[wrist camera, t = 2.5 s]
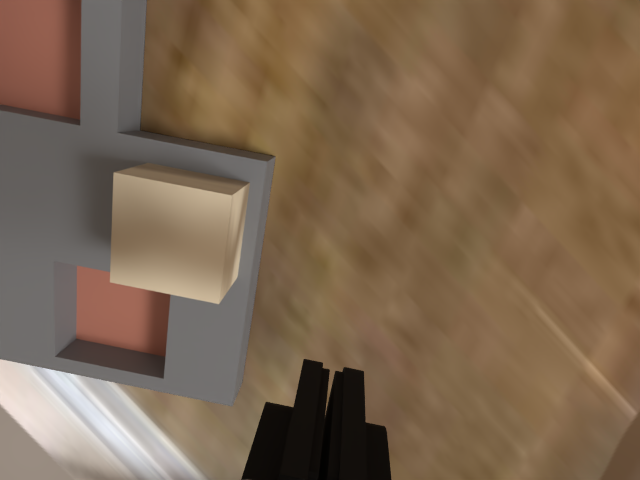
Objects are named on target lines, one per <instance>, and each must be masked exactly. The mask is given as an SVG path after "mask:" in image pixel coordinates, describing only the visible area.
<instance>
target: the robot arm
mask: <svg viewBox="0 0 640 480" xmlns="http://www.w3.org/2000/svg"><path fill="white" fill-rule="evenodd" d="M322 367H323V363H322V362H317V361H312V360H307V359H304V361H303V366H302V370H301V375H300V380H299V384H298V389H297V394H296V399H295V403H294V407H289V406H284V405H279V404H274V403H270V402H266V403H265V406H264V409H263V412H262V415H261V419H260V422H259V425H258V428H257V431H256V435H255V438H254V441H253V444H252V447H251V450H250V454H249V457H248V460H247V463H246V466H245V470H244V473H243V476H242V479H241V480H391V471H390V461H389V450H388V440H387V431H386V428H385V426H380V425H375V424H370V423H366V422H365V392H364V371H361V370H356V369H351V368H346V367H344V369H343V372H339V371H335V375H334V379H333V384H332V388H331V393H330V397H329V402H328V406H327V411H326V415H325V410H326V401H327V391H328V381H329V372H330V370H329V369H324V368H322Z"/></svg>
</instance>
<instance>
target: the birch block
mask: <svg viewBox="0 0 640 480" xmlns="http://www.w3.org/2000/svg"><path fill="white" fill-rule="evenodd" d="M249 186H250V182H245V181H239V180H234V179H229V178H224V177H219V176H214V175H208V174H203V173H198V172H193V171H188V170H183V169H177V168H172V167H167V166H162V165H157V164H152V163H146V164H143V165H139V166H135V167H132V168H128V169H124V170H121V171H117V172H114V175H113V205H112V235H111V264H110V282H111V283H116V284H121V285H126V286H131V287H136V288H141V289H146V290H151V291H156V292H161V293H166V294H171V295H176V296H181V297H186V298H191V299H196V300H201V301H206V302H211V303H216V304H219V303H220V302H221V301H222V299H223V298H224V296H225V295H226V293H227V292H228V290H229V289H230V287H231V286H232V285H233V283H234V282H235V280H236V279H237V277H238V269H239V262H240V254H241V247H242V239H243V231H244V224H245V216H246V209H247V201H248V193H249Z"/></svg>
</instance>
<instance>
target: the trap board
mask: <svg viewBox="0 0 640 480" xmlns="http://www.w3.org/2000/svg"><path fill="white" fill-rule="evenodd" d="M146 3H147V0H0V359H3V360H8V361H13V362H18V363H22V364H27V365H32V366H37V367H42V368H47V369H52V370H57V371H62V372H66V373H71V374H76V375H81V376H86V377H91V378H96V379H101V380H106V381H110V382H115V383H120V384H125V385H130V386H135V387H140V388H145V389H150V390H154V391H159V392H164V393H169V394H174V395H179V396H184V397H189V398H194V399H199V400H203V401H208V402H213V403H218V404H223V405H228V406H233V404H234V401H235V399H236V397H237V394H238V392H239V389H240V387H241V384H242V381H243V374H244V367H245V361H246V354H247V347H248V340H249V333H250V327H251V320H252V313H253V306H254V299H255V293H256V286H257V279H258V272H259V265H260V259H261V252H262V245H263V238H264V231H265V225H266V218H267V211H268V204H269V198H270V191H271V184H272V177H273V170H274V164H275V156H270V155H265V154H260V153H255V152H249V151H244V150H239V149H234V148H229V147H223V146H218V145H213V144H208V143H203V142H198V141H192V140H187V139H182V138H177V137H172V136H166V135H161V134H156V133H151V132H146V131H140V121H141V102H142V82H143V62H144V43H145V23H146ZM146 163H152V164H157V165H162V166H167V167H172V168H177V169H183V170H188V171H193V172H198V173H203V174H208V175H214V176H219V177H224V178H229V179H234V180H239V181H245V182H250V186H249V193H248V201H247V209H246V216H245V224H244V231H243V239H242V247H241V254H240V262H239V269H238V277H237V279H236V280H235V282H234V283H233V285H232V286H231V287H230V289H229V290H228V292H227V293H226V295H225V296H224V298H223V299H222V301H221V302H220V303H219V304H216V303H211V302H206V301H201V300H196V299H191V298H186V297H181V296H176V295H171V294H166V293H161V292H156V291H151V290H146V289H141V288H136V287H131V286H126V285H121V284H116V283H111V282H110V264H111V235H112V205H113V175H114V172H117V171H121V170H124V169H128V168H132V167H135V166H139V165H143V164H146Z"/></svg>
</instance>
